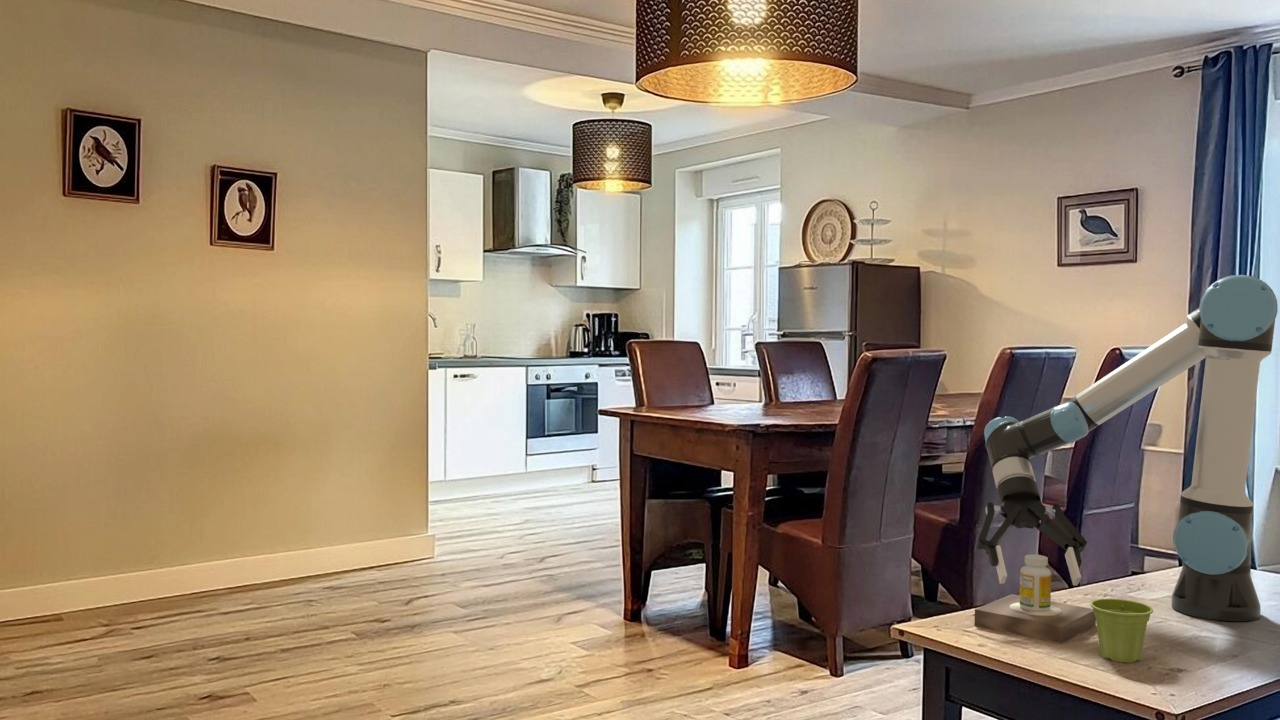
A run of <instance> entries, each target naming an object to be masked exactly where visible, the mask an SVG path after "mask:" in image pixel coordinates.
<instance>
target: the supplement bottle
mask: <svg viewBox="0 0 1280 720" xmlns="http://www.w3.org/2000/svg"><path fill="white" fill-rule="evenodd" d="M1048 559H1049V558H1048V556H1045V555H1041V554H1025V555H1024V560H1023V561H1024V564H1025V565H1023V566H1022V567H1021V568H1020V570H1019V571H1020V573H1019V596H1020V607H1021V608H1023V609H1025V610H1029V611H1039V612H1041V611H1048V610H1049V609H1050V605H1051V601H1052V599H1051V598H1052V597H1051V593H1052V571H1051V570H1050V569H1049V567H1047V566H1048V565H1049V560H1048Z"/></svg>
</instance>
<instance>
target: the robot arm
mask: <svg viewBox="0 0 1280 720" xmlns="http://www.w3.org/2000/svg"><path fill="white" fill-rule="evenodd" d="M1278 307H1279V306H1278V299H1277V296H1276V294H1275V292H1274V290H1273V289H1272V288H1271V286H1270V285H1269V284H1268V283H1267V282H1266V281H1263V280H1262V279H1260V278H1258V277H1255V276H1253V275H1246V274H1235V275H1234V274H1232V275H1228V276H1227V275H1226V276H1225V277H1222V278H1219V279H1218V280H1216V281H1215V282H1213V283H1212V284H1211V285H1209V287H1208V288H1207V289H1206V290H1205V292H1203V295H1202V297H1201V298H1200V302H1199V307H1198V308H1196V309H1195V310H1193V311H1191V312H1190V313H1189V314H1187V315H1186V316H1187V317H1186V321H1185V323H1184V324H1182V325H1180V326H1179V327H1177V328H1176V329H1174V330H1173V331H1172V332H1169V333H1168V334H1167V335H1165V336H1163V337H1162V338H1161V339H1159V340H1158V341H1156V342H1155V343H1153V344H1151V345H1150V346H1149V347H1147V348H1146V349H1144V350H1143V351H1141V352H1140V353H1138V354H1137V355H1136V356H1134V357H1132V358H1130V359H1129V360H1127V361H1126V362H1125V363H1122V364H1121V365H1120V366H1119V367H1117V368H1115V369H1113V371H1111V372H1109V373H1108V374H1106V375H1105V376H1103V377H1102V378H1101V379H1099V380H1097V381H1096V382H1095V383H1093V384H1092V385H1091V384H1090V385H1089V386H1088V387H1087V388H1085V389H1084V390H1082V391H1080V392H1079V393H1078V394H1076V395H1075V396H1073V397H1072V398H1069V399H1068V400H1066V401H1065V402H1064V403H1062V404H1059V405H1055V406H1053V407H1052V408H1049V409H1047V410H1044V411H1041V412H1040V413H1038V414H1035V415H1033V416H1030V417H1029V418H1026V419H1024V420H1021V421H1019V420H1018V419H1017V418H1014V417H1012V416H1004V417H999V416H998V417H996V418H993V419H992V420H990V421H989V422H988V423H987V424H986V425H985V427H984V431H983V435H984V440H985V445H984V446H985V449H986V451H987V456H988V458H989V459H988V460H989V462H990V463H989V464H990V467H991V470H992V475H993V480H994V484H995V488H996V494H997V496H998V501H999V505H995V504H994V503H993V502H991V501H989V502H987V503H986V506H985V509H984V515H985V516H984V517H985V519H984V522H983V526H982V529H981V531H980V534H979V536H978V538H977V542H976V544H975V548H976V549H977V550H978V551H980V550H985V554H986V555H988V560H989V564H990V566H991V567H996V572H997V573H996V574H997V577H998V582H999V585H1004V584H1005V583H1006V580H1007V578H1008V573H1007V568H1006V563H1005V560H1004V556H1003V552H1002V548H1001V545H1000V543H1001V542H1002V540H1003V538H1004V537H1005V536H1006V534H1007V533H1008V532H1009V531H1010V530H1011V528H1012V527H1016V529H1023V528H1026V529H1034V528H1035V529H1036V530H1038V531H1039V532H1042V533H1043V534H1044V535H1046V536H1048V538H1049V539H1051V540H1052V541H1053V542H1055V543H1056V545H1058V546H1059V547H1060V548H1062V549H1063V550H1064V551H1065V553H1064V557H1065V560H1066V564H1067V565H1066V566H1067V567H1068V572H1069V576H1070V579H1071V582H1072V585H1073V587H1074V586H1078V585H1079V583H1080V581H1081V579H1082V575H1081V571H1080V567H1081V565H1082V563H1083V562H1082V558H1081V554H1080V553H1082V552H1084V550H1085V548H1086V546H1087V544H1088V541H1087V539H1086V538H1085V537H1084V536H1083V535H1082V534H1081V533H1080V532H1079V531H1078V529H1077V528H1076V527H1075V526H1074V524H1072V522H1071V521H1070V520H1069V519H1068V517H1067V516H1066V515H1065V514H1064V513H1063V510H1062V507H1061V505H1060V504H1059V503H1056V502H1055V503H1054V504H1053V505H1052V506H1045V505H1044V504H1043V502H1042V499H1041V495H1040V491H1039V488H1038V487H1039V486H1038V485H1037V482H1036V481H1037V480H1036V476H1035V473H1034V469H1033V467H1032V463H1031V461H1032V460H1031V459H1032V458H1034V457H1037V456H1040V455H1042V454H1045V453H1047V452H1050V451H1053V450H1056V449H1058V448H1061V447H1063V446H1066V445H1068V444H1073V443H1075V442H1078V441H1079V440H1080V439H1082V438H1085V437H1087V436H1088V434H1089V432H1091V431H1093V430H1094V429H1096V428H1097V427H1098V426H1100V425H1101V424H1103V423H1105V422H1107V421H1108V420H1110V419H1111V418H1113V417H1114V416H1116V415H1118V414H1119V413H1121V412H1122V411H1123V410H1125V409H1127V408H1129V407H1130V406H1132V405H1133V404H1135V403H1136V402H1138V401H1140V400H1141V399H1143V398H1144V397H1146V396H1148V395H1149V394H1150V393H1153V392H1154V391H1155V390H1157V389H1159V387H1162V386H1163V385H1165V384H1166V383H1168V382H1170V381H1171V380H1173V379H1174V378H1176V377H1178V376H1179V375H1180V374H1182V373H1184V372H1186V371H1187V370H1189V369H1190V368H1191V367H1193V366H1195V365H1196V364H1198V363H1199V362H1202V360H1204V359H1205V361H1204V363H1205V364H1204V371H1203V372H1204V373H1203V380H1202V389H1201V397H1200V407H1199V415H1198V424H1197V432H1196V441H1195V449H1194V450H1195V451H1194V458H1193V467H1192V476H1191V477H1192V478H1191V485H1190V486H1189V487H1187V488H1186V489H1184V490H1183V491H1182V492H1180V500H1179V505H1178V506H1179V507H1178V514H1177V516H1178V517H1177V523H1176V526H1175V528H1174V530H1173V535H1172V541H1173V545H1174V548H1175V551H1176V553H1177V555H1178V557H1179V558H1180V559H1181V561H1182V563H1181V565H1182V567H1181V571H1180V574H1179V576H1178V579H1177V580H1176V584H1175V587H1174V589H1173V591H1172V594H1171V608H1172V609H1174V610H1175V611H1177V612H1180V613H1182V614H1185V615H1189V616H1192V617H1197V618H1202V619H1208V620H1214V621H1215V620H1216V621H1225V622H1249V621H1256V620H1259V619H1260V618H1261V603H1260V600H1259V597H1258V593H1257V591H1256V589H1255V585H1254V582H1253V579H1252V576H1251V575H1252V572H1251V567H1252V566H1251V565H1252V526H1253V525H1252V520H1253V519H1252V517H1253V515H1254V509H1253V507H1254V503H1253V501H1252V500H1251V499H1250V498H1249V496H1248V495H1246V492H1245V491H1246V487H1247V486H1246V484H1247V475H1248V467H1249V460H1250V451H1251V443H1252V433H1253V425H1254V417H1255V409H1256V401H1257V393H1258V384H1259V383H1258V382H1259V378H1260V377H1259V375H1260V367H1261V362H1262V361H1263V360H1264V359H1265V358H1267V357H1268V356H1270V355H1271V354H1272V350H1273V342H1274V341H1273V340H1274V333H1275V324H1276V318H1277V315H1278V311H1279V310H1278V309H1279V308H1278ZM998 514H1000V515H1001V517H1003V518H1004V521H1003V523H1001V525H1000V526H999V527H998V529H997V531H996V532H995V533H994V534H993V536H992V537H991V538H990V540H988V539H987V536H988V533H989V531H990V527H991V525H992V523H993V519H994V518H996V517H997V515H998ZM1050 519H1051V520H1052V521H1053V522H1054V523H1053V522H1051V520H1050Z"/></svg>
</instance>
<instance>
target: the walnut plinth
mask: <svg viewBox="0 0 1280 720" xmlns="http://www.w3.org/2000/svg"><path fill="white" fill-rule="evenodd" d="M974 626H975V627H981V628H985V629H989V628H990V629H991V630H996V631H1001V632H1004V631H1005V633H1009V634H1013V635H1020V636H1024V637H1029V638H1032V639H1039V640H1043V641H1047V642H1052V643H1056V644H1057V643H1058V644H1062V645H1063V644H1064V643H1066V642H1067V641H1070V640H1072V639H1074V638H1076V637H1077V636H1080V635H1081V634H1083V633H1085V632H1087V631H1088V630H1091V629H1092V628H1094V627H1097V624H1096V617H1095V615H1094V612H1093V608H1092V607H1090V608H1089V607H1084V606H1078V605H1074V604H1067V603H1062V602H1058V601H1052V600H1051V605H1050V609H1049V610H1048V611H1041V612H1039V611H1029V610H1025V609H1023V608H1021V607H1020V594H1019V595H1018V594H1013V593H1012V594H1009V595H1006V596H1004V597H1001V598H998V599H997V600H994V601H991V602H989V603H987V604H984V605H981V606H979V607H977V608H974Z"/></svg>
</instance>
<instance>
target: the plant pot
mask: <svg viewBox="0 0 1280 720" xmlns="http://www.w3.org/2000/svg"><path fill="white" fill-rule="evenodd" d="M1089 605H1090V608H1091V609H1093V612H1094V615H1095V617H1096V631H1097V639H1098V645H1099V646H1098V648H1099V654H1100V656H1101V658H1104V659H1110V660H1111V661H1113V662H1115V663H1116V662H1117V663H1126V664H1132V663H1135V662H1136V661H1137V662H1138V661H1141V659H1142V654H1143V647H1144V642H1145V641H1144V640H1145V634H1146V631H1147V624H1148V622H1149V621H1150V618H1151V614H1153V612H1154V609H1153V607H1152V606H1150V605H1148V604H1145V603H1142V602H1137V601H1135V600H1134V601H1133V600H1127V599H1119V598H1101V599H1100V598H1099V599H1094V600H1092V601H1090V603H1089Z"/></svg>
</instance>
